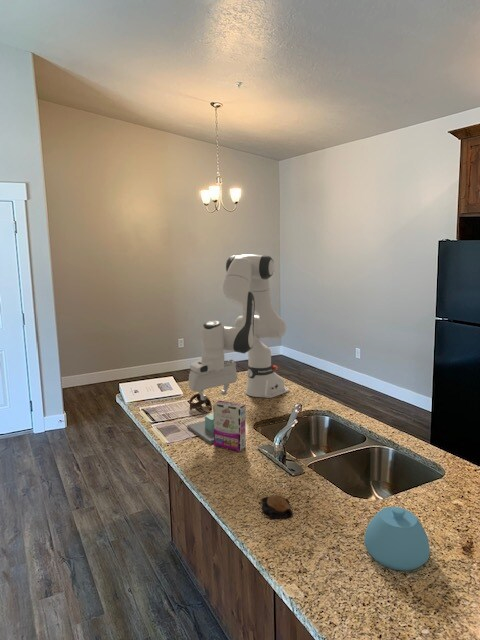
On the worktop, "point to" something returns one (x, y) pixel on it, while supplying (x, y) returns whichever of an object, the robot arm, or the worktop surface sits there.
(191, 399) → the brown arched frame
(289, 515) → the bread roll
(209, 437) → the slate board
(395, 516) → the sugar bowl
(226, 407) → the candy bar box
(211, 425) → the teal block
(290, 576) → the worktop surface
